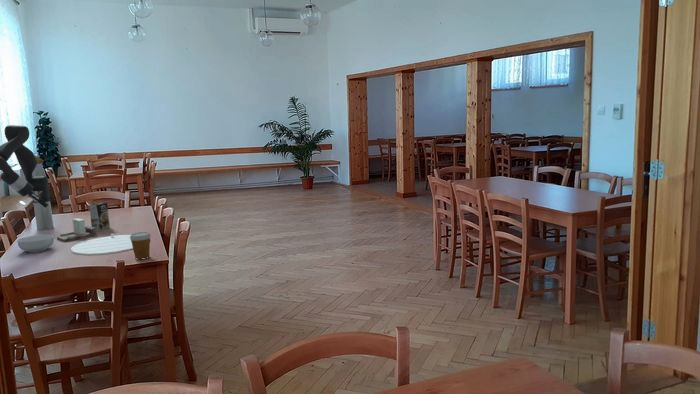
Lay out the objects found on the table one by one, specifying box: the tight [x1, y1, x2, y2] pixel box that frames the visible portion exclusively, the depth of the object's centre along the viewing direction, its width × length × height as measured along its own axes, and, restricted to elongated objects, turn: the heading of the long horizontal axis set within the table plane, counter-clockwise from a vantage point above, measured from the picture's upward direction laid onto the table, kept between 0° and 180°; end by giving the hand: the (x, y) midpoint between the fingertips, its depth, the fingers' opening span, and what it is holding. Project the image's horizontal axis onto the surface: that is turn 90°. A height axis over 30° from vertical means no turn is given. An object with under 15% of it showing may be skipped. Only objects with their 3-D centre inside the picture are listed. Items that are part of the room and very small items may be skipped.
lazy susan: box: [70, 232, 133, 256], centre depth 294 cm, size 40×39×3 cm
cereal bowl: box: [16, 234, 55, 254], centre depth 288 cm, size 17×17×7 cm
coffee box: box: [88, 202, 111, 232], centre depth 334 cm, size 9×6×16 cm
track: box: [56, 225, 98, 243], centre depth 315 cm, size 18×11×4 cm, turn 137°
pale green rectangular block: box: [72, 218, 86, 235], centre depth 316 cm, size 3×9×8 cm, turn 47°
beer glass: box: [129, 231, 151, 259], centre depth 264 cm, size 10×10×12 cm
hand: (46, 206), depth 304 cm, fingers closed
